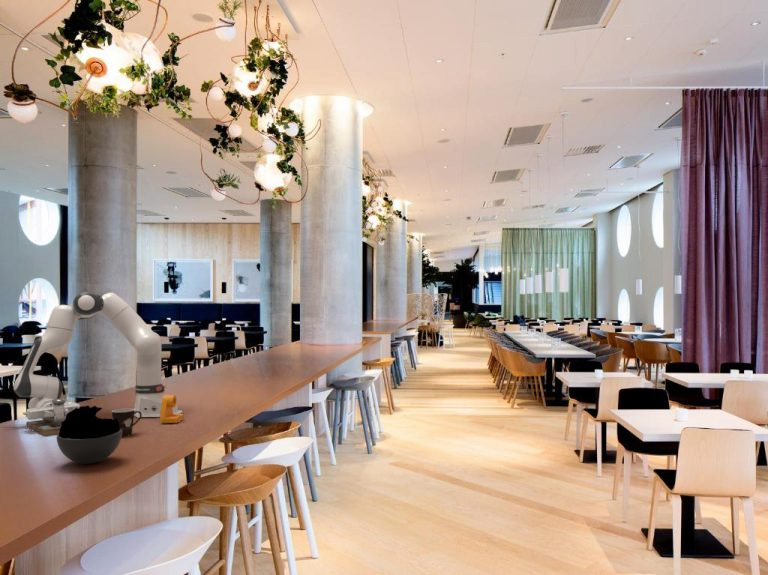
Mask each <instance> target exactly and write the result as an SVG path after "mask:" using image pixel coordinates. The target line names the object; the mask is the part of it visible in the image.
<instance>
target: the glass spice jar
mask: <svg viewBox="0 0 768 575" xmlns="http://www.w3.org/2000/svg"><path fill="white" fill-rule="evenodd" d="M66 400H67V399H65V398H60V399H54V400H52V403H53V412H54V413H55V414H54V415H55V416H54V417H53V427H54V428H56V427H61V423H62V422H63V421H64V419H65V416H64V403H65V402H66Z"/></svg>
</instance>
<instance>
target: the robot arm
mask: <svg viewBox="0 0 768 575" xmlns="http://www.w3.org/2000/svg"><path fill="white" fill-rule="evenodd" d="M96 314H100V315H103V316H104V317H105V318H106V319H107V320H108V321H109V322H110V323H111V324H112V325H113V327H115V328H116V329H117V330H118V331H119V333H121V334H122V335H123V337H124V338H125V339H126V340H127V342H128V343H129V344H130V345H131V346H132V347H133V349H134V350H136V369H135V370H136V374H135V375H136V376H135V377H136V384H135V386H134V387H135V390H134V391H135V393H134V394H135V402H134V408H133V409H135V411H139V412H141V414H142V416H141V417H160V412H161V404H162V398H163V396H164V395H169V394H168V393H167V391H165V389H166V388H167V385H164V384H162V338H161V336H160V335H159V334H158V333H157V332H154V331H153V330H152V329H151V327H149V326H148V324H147V323H146V322H145V321H144V320H143V318H142V317H141V316H140V315H139V314H138V313H137V312H136V311H135V310H134V308H132V307H131V306H130V305H129V304H128V303H127V302H126V301H125V300H124V299H123V298H122V297H120V296H119V295H117V294H116V293H115V292H107V293H105V294H103V295H99V294H97V293H93V292H89V291H82V292H80V293H78V294H77V295H75V297H74V298H73V300H72V303H70V304H69V305H66V304H59V305H57V306H54V308H53V309H52V311H51V314H50V315H49V318H48V322H47V325H46V329H45V331H44V333H43V334H42V335H41V336H40V337H37V338H36V339H35V340H34V341H33V344H32V345H31V347H30V350H29V351H28V353H27V354H28V355H27V356H26V359H25V360H24V362H23V366H22V367H21V370H20V372H19V373H18V375H17V377H16V380H15V381H14V384H13V392H14V393H15V394H16V395H17V396H18V397H19V398H31V399H30V400H29V402H28V404H27V405H28V408H27V409H26V411H24V412H22V415H24V416H26V419H27V420H29V421H30V420H31V421H34V420H38V419H39V420H47V421H49V420H53V417H54V416H55V415H54V414H55V413H54V412H53V403H52V400H54V399H61V396H62V393H63V390H64V389H63V388H64V387H63V384H62V382H61V380H60V379H59V377H56V376H49V375H39V374H34V370H35V368H36V366H37V363H38V362H39V359H40V358H41V356H42V355H43V354H44V353H47V352H50V351H55V350H60V349H63V348H65V347H67V346H68V345H69V344H70V343H71V342H72V339H73V335H74V332H75V326H76V323H77V321H78V320H86V319H88V320H89V319H91V318H92V317H94V316H96ZM79 407H81V405H80V404H79V403H77V402H74V401H73V402H72V401H71V400H70V399H66V402H65V403H64V417H66V415H67V413H69V412H70V411H72V410H74V409H75V408H78V409H79ZM172 409H173V414H181V413H182V412H183V410H181V409H179V408H178V402H176V406H175V407H172ZM182 414H183V413H182ZM134 417H137V418H138V419H139V417H140V413H138V412H137V413H135V414H134ZM137 418H136V419H137Z"/></svg>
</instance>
